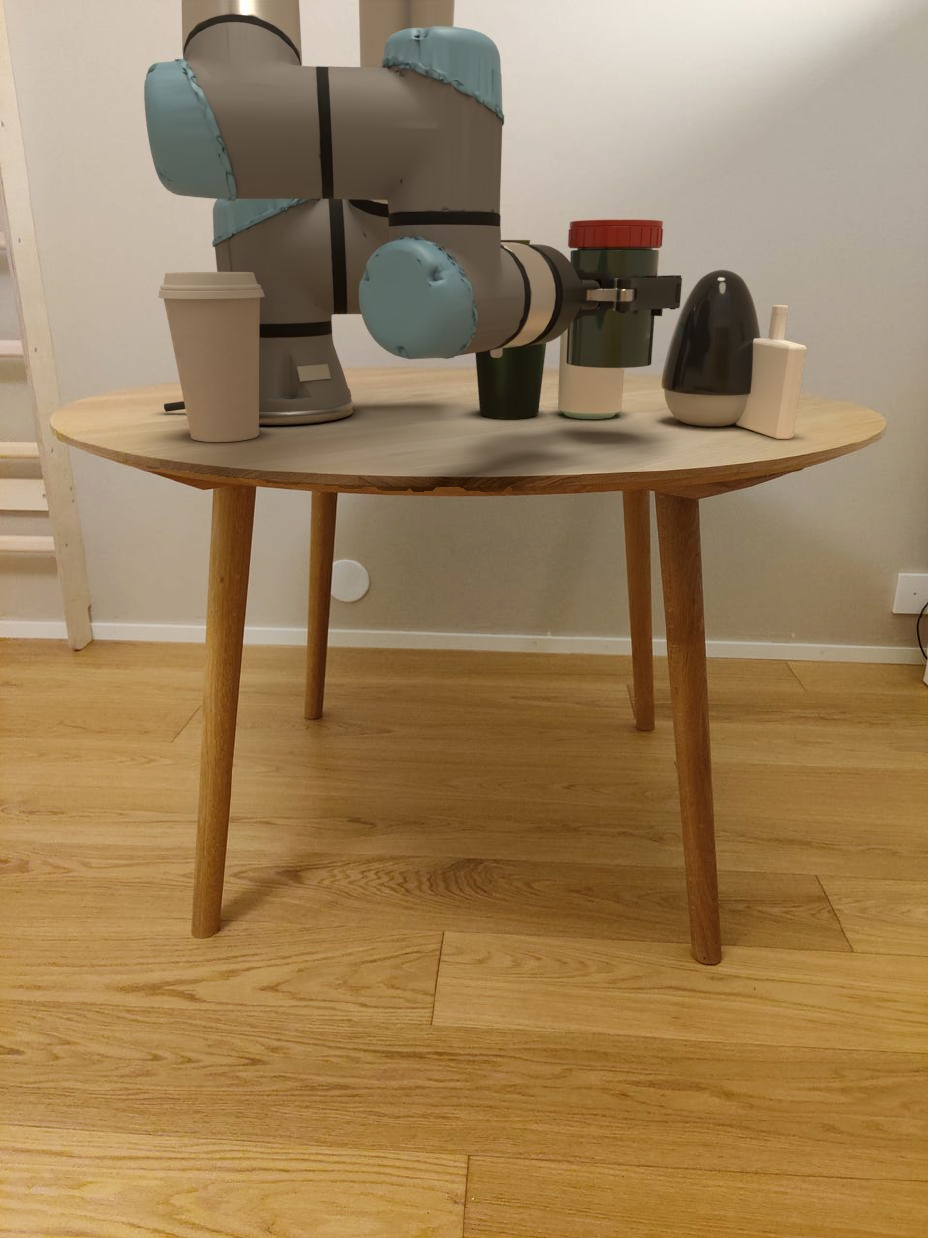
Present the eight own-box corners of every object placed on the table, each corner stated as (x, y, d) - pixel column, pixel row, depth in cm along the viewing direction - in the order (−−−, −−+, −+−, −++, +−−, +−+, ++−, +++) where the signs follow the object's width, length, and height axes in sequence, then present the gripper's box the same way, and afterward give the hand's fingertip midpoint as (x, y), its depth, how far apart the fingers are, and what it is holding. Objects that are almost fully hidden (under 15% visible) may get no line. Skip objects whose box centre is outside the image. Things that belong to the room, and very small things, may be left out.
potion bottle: (458, 413, 103) (457, 240, 97) (514, 406, 108) (517, 240, 101) (502, 423, 97) (505, 239, 91) (560, 415, 102) (567, 239, 95)
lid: (554, 247, 82) (555, 220, 81) (587, 248, 89) (588, 224, 88) (645, 246, 78) (647, 218, 78) (672, 248, 85) (674, 222, 84)
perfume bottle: (795, 438, 89) (815, 308, 85) (777, 439, 89) (796, 308, 84) (750, 423, 96) (766, 303, 92) (733, 424, 96) (749, 302, 91)
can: (590, 422, 98) (596, 303, 93) (544, 413, 103) (548, 300, 99) (634, 415, 102) (642, 301, 98) (588, 407, 107) (594, 298, 103)
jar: (553, 365, 86) (557, 227, 82) (583, 358, 92) (589, 230, 88) (636, 369, 82) (645, 226, 78) (661, 361, 89) (671, 229, 85)
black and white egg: (737, 414, 103) (753, 268, 97) (772, 430, 93) (792, 269, 88) (647, 415, 102) (658, 268, 97) (673, 431, 93) (686, 270, 87)
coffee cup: (241, 424, 96) (228, 271, 91) (294, 436, 90) (283, 272, 85) (156, 435, 90) (136, 272, 85) (206, 449, 84) (188, 273, 78)
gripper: (407, 341, 77) (536, 327, 95) (639, 352, 67) (735, 334, 85) (405, 245, 75) (538, 249, 93) (647, 241, 64) (744, 246, 82)
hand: (632, 289), depth 89 cm, fingers closed on jar, 8 cm apart
